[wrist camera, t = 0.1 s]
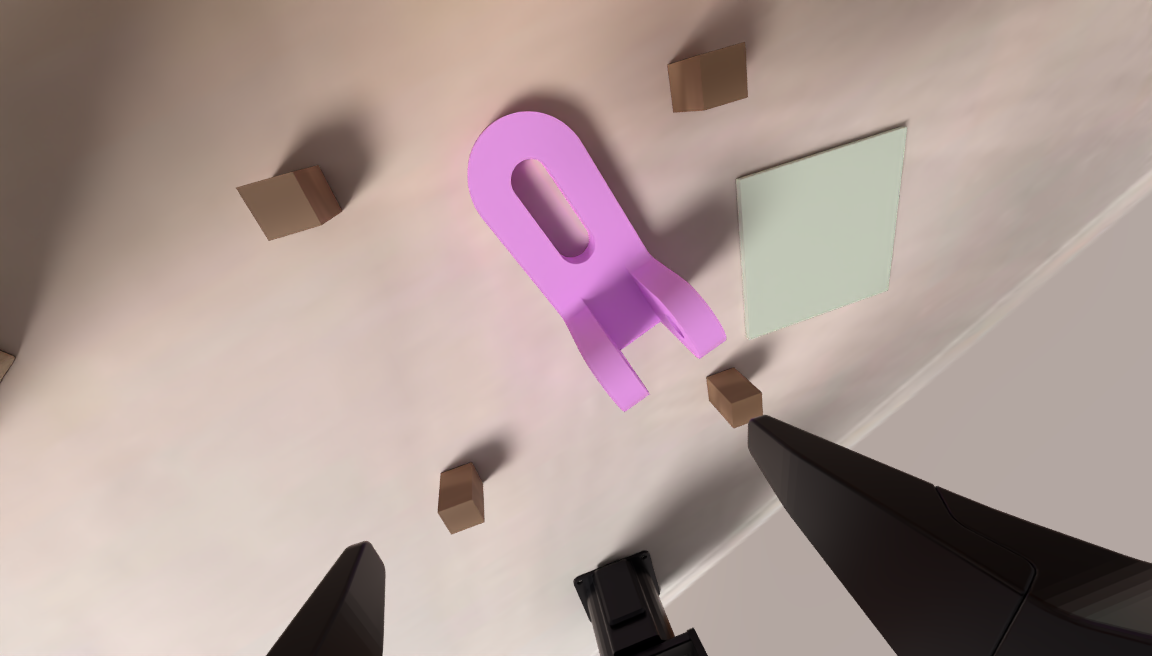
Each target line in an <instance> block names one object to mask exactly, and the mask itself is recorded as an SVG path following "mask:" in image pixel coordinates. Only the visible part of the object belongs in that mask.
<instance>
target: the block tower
mask: <svg viewBox="0 0 1152 656" xmlns="http://www.w3.org/2000/svg"><path fill="white" fill-rule="evenodd" d="M14 359H15V357H14V356H12V355H9V354H7V353H5V352H2V351H0V381H1V380H2V378H3V376H4V375H5V373H6V372H7V370H8V369H9V367H10V366H11V365H12V363H13V361H14Z"/></svg>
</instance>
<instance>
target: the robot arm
mask: <svg viewBox="0 0 1152 656" xmlns="http://www.w3.org/2000/svg"><path fill="white" fill-rule="evenodd" d="M748 448H749V451H750V453H751V455H752V456H753V458H754V460H755V461H756V463H757V465H758V466H759V468H760V469H761V471H762V473H763V474H764V476H765V477H766V479H767V481H768V482H769V484H770V486H771V487H772V489H773V490H774V492H775V494H776V495H777V497H778V498H779V500H780V502H781V503H782V505H783V506H784V508H785V509H786V511H787V512H788V513H789V515H790V516H791V518H792V519H793V520H794V522H795V523H796V524H797V525H798V527H799V528H800V529H801V531H802V532H803V533H804V535H805V536H806V537H807V538H808V540H809V541H810V542H811V544H812V545H813V546H814V547H815V549H816V550H817V551H818V553H819V554H820V555H821V557H822V558H823V559H824V561H825V562H826V563H827V564H828V566H829V567H830V568H831V570H832V571H833V572H834V574H835V575H836V576H837V577H838V579H839V580H840V581H841V583H842V584H843V585H844V587H845V588H846V589H847V591H848V592H849V593H850V594H851V596H852V597H853V598H854V600H855V601H856V602H857V604H858V605H859V606H860V607H861V609H862V610H863V611H864V613H865V614H866V615H867V616H868V618H869V619H870V620H871V622H872V623H873V624H874V626H875V627H876V628H877V630H878V631H879V632H880V633H881V634H882V636H883V637H884V639H885V640H886V641H887V643H888V644H889V645H890V646H891V648H892V649H893V650H894V652H895V653H896V654H897V656H1152V563H1149V562H1145V561H1141V560H1138V559H1135V558H1132V557H1128V556H1126V555H1123V554H1120V553H1117V552H1114V551H1111V550H1109V549H1106V548H1103V547H1100V546H1097V545H1094V544H1091V543H1088V542H1086V541H1083V540H1080V539H1077V538H1074V537H1071V536H1068V535H1065V534H1063V533H1060V532H1057V531H1054V530H1052V529H1048V528H1046V527H1043V526H1040V525H1037V524H1034V523H1031V522H1029V521H1026V520H1023V519H1020V518H1018V517H1015V516H1012V515H1010V514H1007V513H1004V512H1002V511H999V510H996V509H993V508H990V507H988V506H985V505H983V504H980V503H978V502H976V501H973V500H971V499H968V498H966V497H963V496H961V495H958V494H956V493H953V492H951V491H949V490H946V489H943V488H941V487H939V486H936V487H935V486H934V485H933V484H931V483H929V482H927V481H924V480H922V479H919V478H917V477H914V476H912V475H910V474H907V473H905V472H903V471H900V470H898V469H895V468H893V467H890V466H888V465H886V464H883V463H881V462H878V461H876V460H874V459H871V458H869V457H866V456H864V455H862V454H859V453H857V452H854V451H852V450H850V449H847V448H845V447H842V446H840V445H838V444H835V443H833V442H830V441H828V440H826V439H823V438H821V437H818V436H816V435H814V434H811V433H809V432H806V431H804V430H802V429H799V428H797V427H794V426H792V425H790V424H787V423H785V422H782V421H780V420H778V419H775V418H773V417H770V416H768V415H762V416H758V417H755V418H752V419H750V420H749V422H748ZM643 555H645V556H644V557H642V556H643ZM578 581H581V582H578ZM573 582H574V586H575V588H576V590H577V593H578V595H579V597H580V600H581V602H582V604H583V606H584V609H585V611H586V613H587V616H588V618H589V620H590V622H592V625H593V629H594V633H595V637H596V641H597V645H598V649H599V653H600V656H708V655H707V653H706V651H705V649H704V647H703V645H702V643H701V641H700V639H699V637H698V635H697V633H696V631H695V629H694V628H691V629H689V630H687V632H685V633H683V634H681V635H678V636H676V637H675V635H674V633H673V630H672V628H671V625H670V623H669V620H668V618H667V615H666V613H665V611H664V608H663V606H662V603H661V601H660V598H659V594H660V591H659V587H658V584H657V580H656V576H655V573H654V569H653V565H652V562H651V558H650V555H649V552H648V551H642V552H639V553H637V554H634V555H631V556H629V557H626V558H624V559H621V560H619V561H616V562H614V563H611V564H609V565H606V566H604V567H601V568H599V569H596V570H594V571H591V572H588V573H586V574H583V575H581V576H578V577H576V578H575V579H574V581H573ZM384 607H385V567H384V564H383V562H382V560H381V559H380V557H379V555H378V554H377V552H376V551H375V549H374V548H373V546H372V544H371V543H370V542H368V541H363V542H360V543H357V544H354V545H351V546H349V547H347V548H346V549H345V550H344V551H343V553H342V554H341V555H340V557H339V558H338V560H337V561H336V562H335V564H334V565H333V566H332V568H331V569H330V570H329V572H328V573H327V574H326V576H325V577H324V578H323V580H322V581H321V582H320V584H319V585H318V586H317V588H316V589H315V590H314V592H313V593H312V594H311V596H310V597H309V598H308V600H307V601H306V603H305V604H304V605H303V607H302V608H301V609H300V611H299V612H298V613H297V615H296V616H295V617H294V619H293V620H292V621H291V623H290V624H289V625H288V627H287V628H286V629H285V631H284V632H283V633H282V635H281V636H280V637H279V639H278V640H277V641H276V643H275V644H274V646H273V647H272V648H271V650H270V651H269V652H268V654H267V655H266V656H382V654H383V640H384Z"/></svg>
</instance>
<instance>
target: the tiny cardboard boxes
mask: <svg viewBox="0 0 1152 656" xmlns="http://www.w3.org/2000/svg"><path fill="white" fill-rule="evenodd" d="M668 73H669V81H670V89H671V97H672V105H673V113H674V112H688V111H702V110H707V109H710V108H714V107H717V106H720V105H724V104H727V103H731V102H734V101H737V100H741V99H744V98H747V97H748V90H747V69H746V48H745V42H743V43H739V44H736V45H732V46H729V47H725V48H722V49H718V50H715V51H711V52H708V53H704V54H701V55H697V56H694V57H691V58H688V59H685V60H682V61H678V62H675V63H672V64H669V65H668ZM236 189H237V190H238V192H239V194H240V195H241V197H242V198H243V200H244V202H245V203H246V205H247V206H248V208H249V210H250V211H251V213H252V215H253V216H254V218H255V219H256V221H257V223H258V224H259V226H260V227H261V229H262V231H263V232H264V234H265V235H266V237H267V239H268V240H269V241H270V240H274V239H277V238H280V237H284V236H287V235H290V234H294V233H297V232H300V231H304V230H307V229H310V228H314V227H317V226H320V225H322V224H324V223H325V222H327V221H328V220H330V219H331V218H333V217H334V216H336V215H337V214H339V213H340V212H342V210H341V208H340V206H339V204H338V202H337V200H336V198H335V196H334V194H333V192H332V191H331V189H330V187H329V185H328V183H327V181H326V179H325V177H324V175H323V173H322V171H321V169H320V167H319V165H317V166H313V167H309V168H305V169H301V170H297V171H293V172H289V173H286V174H282V175H279V176H275V177H272V178H268V179H265V180H261V181H258V182H254V183H251V184H247V185H244V186H240V187H237V188H236ZM706 379H707V387H708V395H709V401H710V402H711V403H712V404H713V406H714V407H715V408H716V409H717V410H718V411H719V412H720V413H721V415H722V416H723V417H724V418H725V419H726V420H727V421H728V423H729V424H730V425H731V426H732V427H733V428H736V427H739V426H742V425H744V424H747V423H748V422H749V420H750V419H752V418H755V417H758V416H762V415H763V407H762V392H761V391H760V390H758V389H757V388H756V387H755V386H754V385H753V384H752V383H751V382H750V381H749V380H747V379H746V378H745V377H744V376H743V375H742V374H741V373H740V372H739V371H737V370H736V369H735V368H731V369H728V370H725V371H723V372H720V373H717V374H714V375H711V376H709V377H706ZM438 514H439V515H440V517H441V519H442V520H443V522H444V524H445V525H446V527H447V528H448V530H449V532H450V533H451V534H454V533H457V532H459V531H462V530H465V529H467V528H470V527H473V526H475V525H478V524H481V523H483V522H485V521H484V496H483V483H482V481H481V479H480V477H479V475H478V473H477V471H476V469H475V467H474V465H473V463H472V462H471V463H468V464H465V465H462V466H460V467H457V468H454V469H451V470H449V471H446V472H443V473H441V476H440V489H439V501H438Z"/></svg>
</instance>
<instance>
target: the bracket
mask: <svg viewBox="0 0 1152 656" xmlns="http://www.w3.org/2000/svg"><path fill="white" fill-rule="evenodd" d="M526 159H536V160H538V161H540V162H541V163H542V164H543V166H544V167H545V169H546V170H547V172H548V173H549V175H550V176H551V178H552V179H553V180H554V182H555V183H556V185H557V186H558V188H559V189H560V191H561V192H562V194H563V195H564V197H565V198H566V200H567V201H568V203H569V204H570V206H571V207H572V209H573V210H574V212H575V213H576V215H577V216H578V218H579V219H580V221H581V222H582V224H583V225H584V227H585V228H586V230H587V231H588V234H589V243H588V246H587V248H586V249H585V251H584V252H583V253H582V254H580V255H578V256H576V257H565V256H563V255H561V254H560V253H559V252H558V251H557V250H556V248H555V247H554V246H553V244H552V243H551V242H550V240H549V239H548V237H547V236H546V235H545V233H544V232H543V231H542V229H541V228H540V227H539V225H538V224H537V223H536V221H535V220H534V218H533V217H532V216H531V214H530V213H529V212H528V210H527V209H526V208H525V206H524V205H523V204H522V202H521V201H520V199H519V198H518V197H517V195H516V194H515V193H514V191H513V189H512V186H511V175H512V172H513V170H514V168H515V167H516V165H517V164H518V163H520V162H521V161H523V160H526ZM468 187H469V192H470V195H471V198H472V201H473V203H474V206H475V208H476V209H477V211H478V213H479V214H480V216H481V217H482V219H483V220H484V221H485V222H486V224H487V225H488V226H489V227H490V229H491V230H492V231H493V232H494V233H495V235H496V236H497V237H498V238H499V240H500V241H501V242H502V243H503V245H504V246H505V247H506V248H507V250H508V251H509V252H510V253H511V255H512V256H513V257H514V258H515V259H516V261H517V262H518V263H519V264H520V266H521V267H522V268H523V269H524V271H525V272H526V273H527V274H528V276H529V277H530V278H531V279H532V281H533V282H534V283H535V284H536V285H537V287H538V288H539V289H540V290H541V292H542V293H543V294H544V295H545V297H546V298H547V299H548V300H549V302H550V303H551V304H552V305H553V307H554V308H555V309H556V310H557V311H558V313H559V314H560V315H561V317H562V318H563V320H564V321H565V323H566V325H567V327H568V329H569V331H570V333H571V335H572V337H573V339H574V341H575V343H576V345H577V347H578V349H579V351H580V353H581V355H582V357H583V358H584V360H585V362H586V363H587V365H588V366H589V368H590V370H591V371H592V373H593V374H594V375H595V377H596V378H597V380H598V381H599V383H600V384H601V385H602V387H603V388H604V389H605V391H606V392H607V393H608V395H609V396H610V397H611V398H612V400H613V401H614V402H615V403H616V404H617V405H618V407H619V408H620V409H621V410H623V411H624V412H625V411H627V410H628V409H629V408H631V407H632V406H634V405H635V404H637V403H638V402H639V401H641V400H642V399H644V398H645V397H646V396H648V395H649V394H650V393H649V392H648V390H647V389H646V387H645V386H644V384H643V383H642V381H641V380H640V378H639V377H638V375H637V374H636V373H635V371H634V370H633V368H632V367H631V365H630V364H629V362H628V361H627V359H626V358H625V356H624V355H623V353H622V352H621V351H620V350H622V349H623V348H624V347H626V346H627V345H628V344H630V343H631V342H633V341H634V340H635V339H637V338H638V337H640V336H641V335H642V334H644V333H645V332H646V331H648V330H649V329H651V328H652V327H653V326H655V325H656V324H658V323H659V322H660V321H661V322H662V323H663V324H664V325H665V326H666V327H667V328H668V329H669V330H670V331H671V332H672V333H673V334H674V335H675V336H676V337H677V338H678V339H679V340H680V341H681V342H682V343H683V344H684V345H685V346H686V347H687V348H688V349H689V350H690V351H691V352H692V353H693V354H694V355H695V356H696V357H697V358H699V359H700V358H702V357H703V356H704V355H706V354H707V353H709V352H710V351H711V350H713V349H714V348H716V347H717V346H718V345H720V344H721V343H723V342H724V341H726V334H725V332H724V330H723V328H722V326H721V324H720V322H719V321H718V319H717V317H716V316H715V314H714V313H713V311H712V310H711V309H710V307H709V306H708V305H707V303H706V302H705V301H704V300H703V298H702V297H701V296H700V295H699V294H698V292H697V291H696V290H695V289H694V288H693V287H692V286H691V285H690V284H689V283H688V282H687V281H685V280H684V279H683V278H682V277H680V276H679V275H677V274H676V273H674V272H673V271H672V270H670V269H669V268H667V267H666V266H665V265H663V264H662V263H660V262H659V261H657V260H656V259H655V258H653V257H652V256H651V255H650V253H649V252H648V251H647V249H646V248H645V246H644V245H643V243H642V241H641V240H640V238H639V236H638V235H637V233H636V231H635V230H634V228H633V226H632V225H631V223H630V221H629V220H628V218H627V216H626V215H625V213H624V212H623V210H622V208H621V207H620V205H619V203H618V202H617V200H616V198H615V197H614V195H613V193H612V192H611V190H610V188H609V187H608V185H607V183H606V182H605V180H604V179H603V177H602V175H601V174H600V172H599V170H598V169H597V167H596V165H595V164H594V162H593V160H592V159H591V157H590V155H589V154H588V152H587V151H586V149H585V147H584V146H583V144H582V142H581V141H580V139H579V138H578V136H577V135H576V134H575V133H574V132H573V131H572V130H571V129H570V128H569V127H568V126H567V125H566V124H564V123H563V122H562V121H560V120H558V119H556V118H554V117H552V116H550V115H547V114H544V113H539V112H531V111H525V112H517V113H513V114H509V115H506V116H504V117H501V118H499V119H497V120H496V121H494V122H493V123H491V124H490V125H489V126H488V127H487V128H486V129H485V130H484V131H483V132H482V133H481V134H480V136H479V137H478V139H477V140H476V142H475V144H474V146H473V148H472V151H471V154H470V157H469V162H468Z"/></svg>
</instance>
